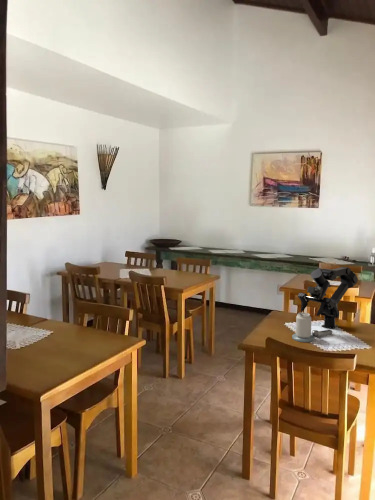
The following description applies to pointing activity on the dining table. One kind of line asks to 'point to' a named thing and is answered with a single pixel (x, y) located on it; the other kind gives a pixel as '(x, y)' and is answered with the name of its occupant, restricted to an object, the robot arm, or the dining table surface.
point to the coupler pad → (302, 338)
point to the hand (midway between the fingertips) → (309, 313)
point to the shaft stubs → (321, 333)
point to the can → (303, 325)
